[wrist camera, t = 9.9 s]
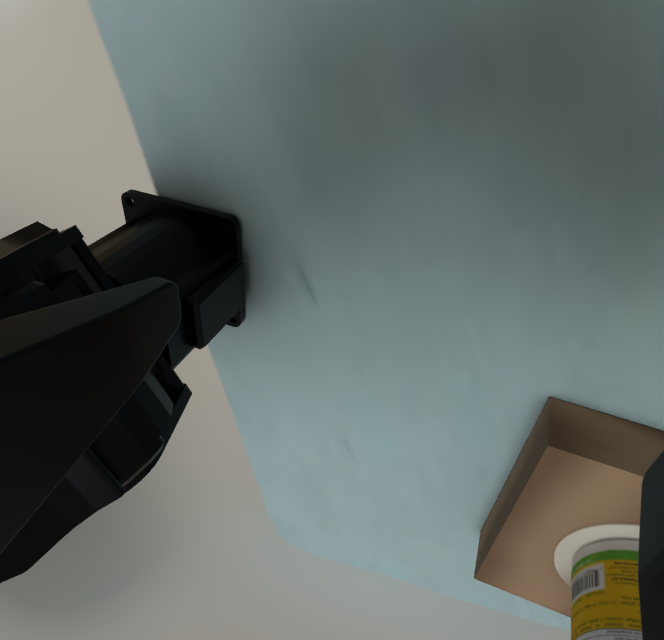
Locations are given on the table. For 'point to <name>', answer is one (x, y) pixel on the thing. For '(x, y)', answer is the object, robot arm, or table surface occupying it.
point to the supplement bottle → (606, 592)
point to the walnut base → (565, 500)
